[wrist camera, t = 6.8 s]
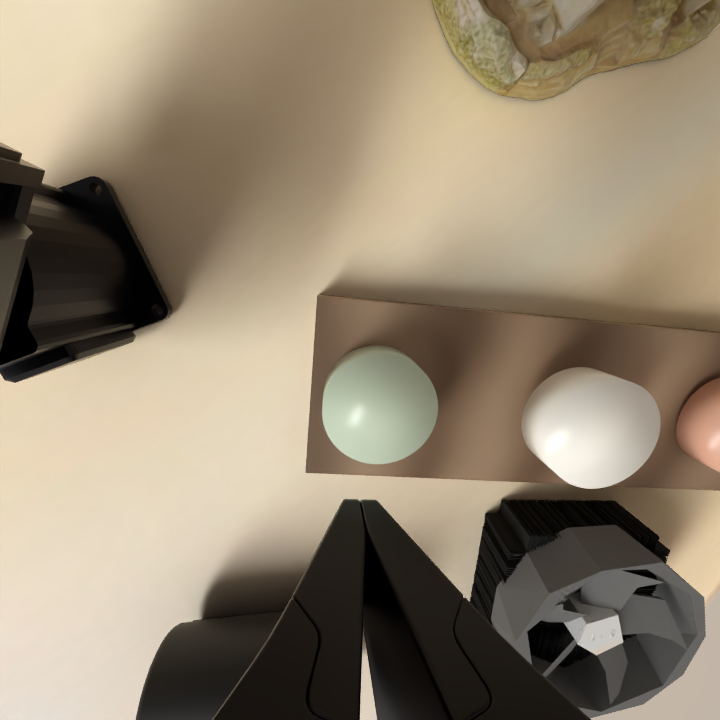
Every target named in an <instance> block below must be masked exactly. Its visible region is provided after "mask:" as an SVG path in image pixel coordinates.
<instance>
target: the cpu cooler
mask: <svg viewBox="0 0 720 720" xmlns="http://www.w3.org/2000/svg"><path fill="white" fill-rule="evenodd" d="M484 525H485V526H484V527H483V531H482V535H483V536H482V537H481V541H480V548H479V549H480V550H479V553H480V554H479V556H478V560H477V564H476V567H477V568H476V571H475V575H474V581H473V582H474V583H473V584H474V585H473V587H472V593H471V594H472V595H471V596H472V597H471V598H470V603H471V604H472V605H473V606H474V607H475V609H476V610H477V611H478V612H479V613H480V614H481V615H482V616H483V617H484V618H485V619H486V620H487V621H488V622H489V623H490V624H491V625H492V627H493V628H494V629H495V630H496V631H497V632H498V633H499V634H500V635H501V636H502V637H503V638H504V639H505V640H506V641H507V642H509V643H510V644H511V645H512V646H513V647H514V648H515V649H516V650H517V651H518V652H519V653H520V654H521V655H522V656H523V657H524V658H525V659H526V660H527V661H528V662H529V663H531V664H532V665H533V666H534V667H535V668H536V669H537V670H538V671H539V672H540V673H541V674H542V675H543V676H545V677H546V678H547V679H548V680H549V681H550V682H551V683H552V684H553V685H554V686H555V687H556V688H558V689H559V690H560V691H561V692H562V693H563V694H564V695H565V696H566V697H567V698H568V699H569V700H570V701H572V702H573V703H574V704H575V705H576V706H577V707H578V708H579V709H580V710H581V711H582V712H583V713H584V714H586V715H587V716H588V717H589V718H593V717H597V716H600V715H604V714H608V713H612V712H616V711H619V710H623V709H627V708H631V707H635V706H638V705H642V704H644V703H645V702H647V701H648V700H649V699H651V698H652V697H654V696H655V695H656V694H658V693H659V692H660V691H662V690H663V689H664V688H666V687H667V686H668V685H670V684H671V683H673V682H674V681H675V680H676V679H678V678H679V677H681V676H682V675H683V674H684V672H685V670H686V668H687V667H688V665H689V663H690V662H691V660H692V658H693V656H694V655H695V653H696V652H697V650H698V648H699V647H700V645H701V643H702V641H703V640H704V638H705V636H706V635H705V607H704V597H703V596H702V595H701V594H700V593H698V592H697V591H696V590H695V589H694V588H693V587H692V586H690V585H689V584H688V583H687V582H686V581H685V580H684V579H683V578H681V577H680V576H679V575H678V574H677V573H676V572H675V571H673V570H672V569H671V568H670V567H669V566H668V565H667V564H665V563H666V561H667V559H666V557H665V556H669V555H668V554H669V552H670V550H669V549H668V548H666V547H665V546H664V545H663V544H662V543H660V542H659V541H658V540H659V536H658V535H657V534H655V533H654V532H653V531H652V530H650V529H649V528H648V527H647V526H645V525H644V524H643V523H642V522H640V521H639V520H638V519H637V518H635V517H634V516H633V515H632V514H630V513H629V512H628V511H627V510H625V509H624V508H623V507H622V506H620V505H619V504H618V503H617V502H615V501H605V502H604V501H598V500H597V501H596V500H595V501H594V500H593V501H592V500H591V501H589V500H588V501H585V502H583V501H581V500H579V501H578V500H577V502H576V501H574V500H572V501H571V500H570V502H569V501H565V500H563V501H562V500H560V501H559V500H558V501H556V502H555V501H552V500H550V502H549V501H548V500H547V501H546V500H545V501H544V500H542V501H541V500H538V501H537V500H535V501H534V500H528V501H526V500H521V501H520V500H519V501H518V500H516V501H515V500H513V501H512V500H510V501H509V502H508V501H507V500H506V501H505V500H503V499H502V501H501V507H500V512H497V513H486V514H485V523H484Z"/></svg>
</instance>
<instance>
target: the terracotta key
mask: <svg viewBox="0 0 720 720" xmlns="http://www.w3.org/2000/svg"><path fill="white" fill-rule="evenodd" d="M676 435H677V440H678V444H679V446H680V448H681V449H682V451H683V452H684V453H685V454H686V455H687V456H689V457H690V458H692V459H694V460H696V461H698V462H700V463H702V464H704V465H706V466H708V467H710V468H712V469H714V470H716V471H718V472H720V378H717V379H714V380H712V381H710V382H708V383H706V384H705V385H703V386H702V387H701V388H699V389H698V390H697V391H696V392H695V393H694V394H693V395H692V396H691V397H690V398H689V399H688V401H687V402H686V404H685V405H684V407H683V409H682V410H681V413H680V415H679V418H678V422H677V428H676Z"/></svg>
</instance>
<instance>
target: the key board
mask: <svg viewBox="0 0 720 720" xmlns="http://www.w3.org/2000/svg"><path fill="white" fill-rule="evenodd" d="M372 345H381V346H388V347H392V348H395V349H397V350H399V351H401V352H403V353H405V354H406V355H407V356H409V357H410V358H411V359H412V360H413V361H414V362H415V363H416V364H417V365H418V366H419V367H420V368H421V369H422V370H423V371H424V373H425V374H426V375H427V376H428V377H429V379H430V380H431V382H432V384H433V386H434V388H435V391H436V394H437V399H438V415H437V420H436V423H435V426H434V429H433V431H432V433H431V434H430V436H429V437H428V439H427V440H426V442H425V443H424V444H423V445H422V446H421V447H420V448H419V449H418V450H417V451H415V452H414V453H412V454H411V455H409V456H407V457H406V458H404V459H401V460H399V461H396V462H392V463H387V464H368V463H363V462H359V461H357V460H354V459H352V458H350V457H348V456H346V455H345V454H344V453H342V452H341V451H340V450H339V449H338V448H337V447H336V446H335V445H334V444H333V443H332V441H331V440H330V438H329V437H328V435H327V433H326V430H325V427H324V424H323V418H322V404H323V392H324V386H325V382H326V379H327V377H328V375H329V373H330V371H331V369H332V368H333V367H334V365H335V364H336V363H337V362H338V361H339V360H340V359H341V358H342V357H344V356H345V355H346V354H348V353H350V352H351V351H353V350H356V349H358V348H361V347H365V346H372ZM575 367H587V368H593V369H596V370H599V371H602V372H605V373H607V374H610V375H613V376H616V377H619V378H621V379H624V380H627V381H630V382H633V383H635V384H637V385H639V386H641V387H643V388H644V389H645V390H647V391H648V392H649V393H650V394H651V396H652V397H653V398H654V400H655V402H656V404H657V406H658V409H659V412H660V421H661V426H660V433H659V437H658V441H657V443H656V446H655V448H654V450H653V452H652V453H651V455H650V456H649V458H648V459H647V461H646V462H645V463H644V464H643V465H642V466H641V467H640V468H639V469H638V470H637V471H636V472H635V473H633V474H632V475H631V476H629V477H628V478H626V479H625V480H623V481H621V482H619V483H616V484H614V485H611V486H626V487H650V488H673V489H696V490H719V491H720V472H718V471H716V470H714V469H712V468H710V467H708V466H706V465H704V464H702V463H700V462H698V461H696V460H694V459H692V458H690V457H689V456H687V455H686V454H685V453H684V452H683V451H682V449H681V448H680V446H679V444H678V440H677V435H676V428H677V422H678V418H679V415H680V413H681V410H682V409H683V407H684V405H685V404H686V402H687V401H688V399H689V398H690V397H691V396H692V395H693V394H694V393H695V392H696V391H697V390H698V389H699V388H701V387H702V386H703V385H705V384H706V383H708V382H710V381H712V380H714V379H717V378H720V332H715V331H704V330H693V329H682V328H672V327H661V326H650V325H640V324H629V323H618V322H607V321H597V320H586V319H575V318H565V317H554V316H543V315H532V314H522V313H511V312H500V311H490V310H479V309H468V308H457V307H447V306H436V305H425V304H415V303H404V302H393V301H382V300H372V299H361V298H350V297H340V296H329V295H318V296H317V309H316V324H315V339H314V354H313V369H312V384H311V399H310V414H309V429H308V444H307V459H306V473H325V474H348V475H371V476H394V477H418V478H441V479H464V480H487V481H510V482H534V483H557V484H569V483H567V482H566V481H564V480H563V479H562V478H560V477H559V476H558V475H557V474H556V473H555V472H554V471H552V470H551V469H550V468H549V467H548V466H547V465H546V464H545V463H543V462H542V461H541V460H540V459H539V458H538V457H537V456H535V455H534V454H533V453H532V452H531V450H530V449H529V448H528V446H527V445H526V443H525V441H524V438H523V434H522V427H521V425H522V415H523V411H524V408H525V405H526V403H527V401H528V399H529V397H530V396H531V394H532V393H533V392H534V390H535V389H536V388H537V387H538V386H539V385H540V384H541V383H542V382H543V381H544V380H546V379H547V378H549V377H550V376H552V375H553V374H555V373H557V372H560V371H562V370H565V369H569V368H575Z"/></svg>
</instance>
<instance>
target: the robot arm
mask: <svg viewBox="0 0 720 720" xmlns="http://www.w3.org/2000/svg"><path fill="white" fill-rule="evenodd" d="M21 156H22V153H20V152H19V151H17V150H15V149H13V148H11V147H9V146H7V145H5V144H3V143H1V142H0V374H1V375H2V377H3V378H4V380H6V381H10V382H14V383H16V382H19V381H22V380H25V379H28V378H31V377H34V376H37V375H40V374H43V373H46V372H49V371H52V370H55V369H58V368H61V367H64V366H67V365H70V364H73V363H75V362H78V361H81V360H84V359H87V358H90V357H93V356H96V355H98V354H101V353H104V352H106V351H109V350H112V349H115V348H117V347H120V346H123V345H126V344H128V343H131V342H133V341H134V339H135V337H136V336H135V334H134V332H133V331H135V330H138V329H141V328H143V327H146V326H149V325H152V324H154V323H157V322H160V321H163V320H165V319H167V318H169V317H170V315H171V314H172V308H171V305H170V303H169V301H168V299H167V297H166V295H165V293H164V291H163V289H162V287H161V285H160V283H159V281H158V279H157V277H156V275H155V273H154V271H153V269H152V267H151V265H150V263H149V261H148V259H147V257H146V255H145V253H144V250H143V248H142V246H141V244H140V242H139V240H138V238H137V236H136V234H135V232H134V230H133V228H132V226H131V224H130V222H129V220H128V218H127V216H126V214H125V212H124V210H123V208H122V206H121V204H120V202H119V200H118V198H117V196H116V194H115V192H114V190H113V188H112V186H111V185H110V184H109V183H108V182H107V181H105V180H103V179H101V178H99V177H95V176H92V177H88V178H85V179H82V180H80V181H77V182H74V183H71V184H69V185H66V186H63V187H61V188H55V187H52V186H49V185H46V184H43V183H42V180H43V176H44V173H45V170H43V169H41V168H39V167H37V166H35V165H33V164H31V163H29V162H27V161H24V160H22V159H21ZM98 185H100V186H101V188H102V192H101V194H100V195H97V194H96V191H95V189H96V187H97V186H98ZM157 305H159V306H161V307H162V310H163V312H162V314H161V315H160V314H158V313H157V312H156V306H157ZM363 628H364V635H365V641H366V648H367V655H368V661H369V668H370V674H371V681H372V687H373V694H374V701H375V707H376V714H377V720H591V719H590V718H589V717H588V716H587V715H586V714H584V713H583V712H582V711H581V710H580V709H579V708H578V707H577V706H576V705H575V704H574V703H573V702H572V701H570V700H569V699H568V698H567V697H566V696H565V695H564V694H563V693H562V692H561V691H560V690H559V689H558V688H556V687H555V686H554V685H553V684H552V683H551V682H550V681H549V680H548V679H547V678H546V677H545V676H543V675H542V674H541V673H540V672H539V671H538V670H537V669H536V668H535V667H534V666H533V665H532V664H531V663H529V662H528V661H527V660H526V659H525V658H524V657H523V656H522V655H521V654H520V653H519V652H518V651H517V650H516V649H515V648H514V647H513V646H512V645H511V644H510V643H509V642H507V641H506V640H505V639H504V638H503V637H502V636H501V635H500V634H499V633H498V632H497V631H496V630H495V629H494V628H493V627H492V625H491V624H490V623H489V622H488V621H487V620H486V619H485V618H484V617H483V616H482V615H481V614H480V613H479V612H478V611H477V610H476V609H475V607H474V606H473V605H472V604H471V603H470V602H469V601H468V600H467V599H466V598H463V595H462V593H461V592H460V591H459V590H458V589H457V588H456V587H455V586H454V585H453V584H452V582H451V581H450V580H449V579H448V578H447V577H446V576H445V575H444V574H443V573H442V571H441V570H440V569H439V568H438V567H437V566H436V565H435V564H434V563H433V562H432V561H431V559H430V558H429V557H428V556H427V555H426V554H425V553H424V552H423V551H422V550H421V548H420V547H419V546H418V545H417V544H416V543H415V542H414V541H413V540H412V539H411V537H410V536H409V535H408V534H407V533H406V532H405V531H404V530H403V529H402V528H401V526H400V525H399V524H398V523H397V522H396V521H395V520H394V519H393V518H392V517H391V516H390V514H389V513H388V512H387V511H386V510H385V509H384V508H383V507H382V506H381V505H380V503H379V502H378V501H376V500H361V501H359V500H357V499H344V500H343V501H342V503H341V505H340V507H339V509H338V510H337V512H336V514H335V516H334V518H333V520H332V522H331V524H330V525H329V527H328V529H327V531H326V533H325V535H324V537H323V539H322V541H321V542H320V544H319V546H318V548H317V550H316V552H315V554H314V556H313V557H312V559H311V561H310V563H309V565H308V567H307V569H306V571H305V572H304V574H303V576H302V578H301V580H300V582H299V584H298V586H297V588H296V589H295V591H294V593H293V595H292V599H290V600H289V602H288V604H287V606H286V608H285V610H284V612H283V613H282V615H281V617H280V619H279V620H278V622H277V624H276V626H275V627H274V629H273V631H272V633H271V634H270V636H269V638H268V639H267V641H266V642H265V644H264V645H263V647H262V648H261V650H260V651H259V653H258V654H257V656H256V658H255V659H254V661H253V662H252V664H251V665H250V667H249V668H248V669H247V671H246V672H245V674H244V675H243V677H242V678H241V679H240V681H239V682H238V684H237V685H236V686H235V688H234V689H233V691H232V692H231V694H230V695H229V696H228V698H227V699H226V701H225V702H224V704H223V705H222V706H221V708H220V709H219V711H218V712H217V714H216V715H215V716H214V718H213V719H212V720H360V693H361V665H362V637H363Z"/></svg>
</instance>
